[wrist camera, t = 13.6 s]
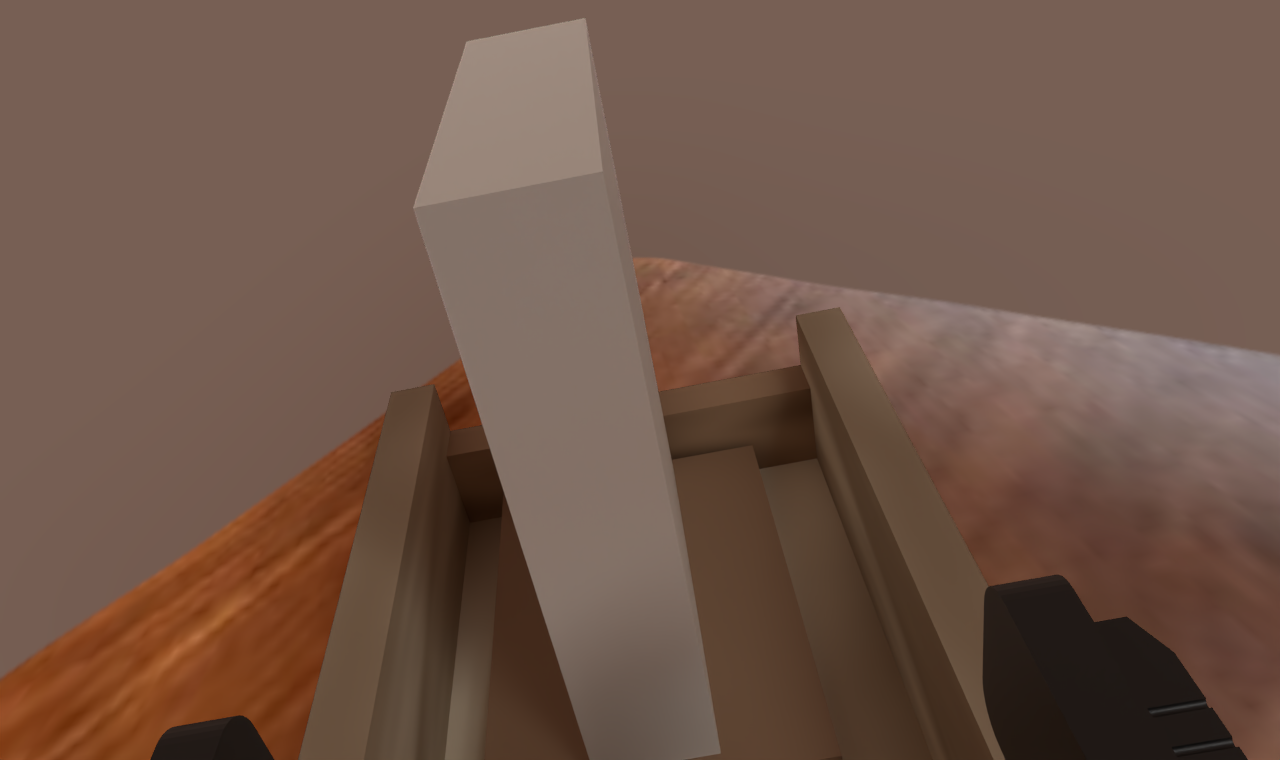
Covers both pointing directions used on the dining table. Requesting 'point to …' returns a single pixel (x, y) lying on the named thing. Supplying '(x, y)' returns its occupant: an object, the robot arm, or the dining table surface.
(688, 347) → the dining table surface
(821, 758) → the place card sign
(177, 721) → the dining table surface
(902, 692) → the brown wooden tray
